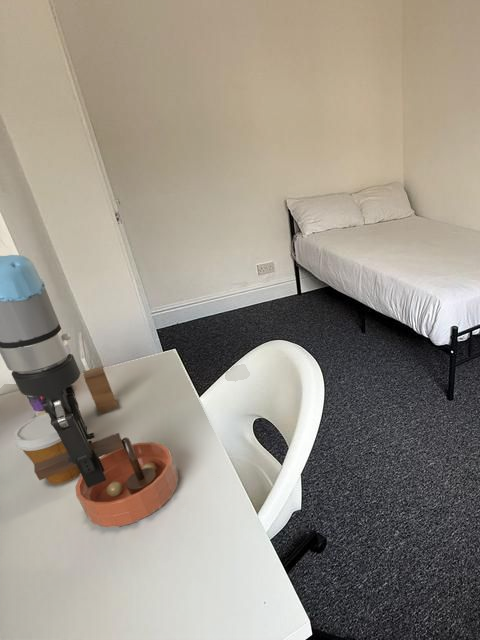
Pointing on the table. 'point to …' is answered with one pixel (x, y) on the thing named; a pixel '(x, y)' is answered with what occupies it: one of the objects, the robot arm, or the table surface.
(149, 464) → the bead
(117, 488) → the bead
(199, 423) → the table surface
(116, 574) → the table surface
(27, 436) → the disposable coffee cup
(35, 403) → the pill bottle
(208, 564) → the table surface
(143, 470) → the ladle
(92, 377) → the ladle stand
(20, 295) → the robot arm
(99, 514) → the bowl
